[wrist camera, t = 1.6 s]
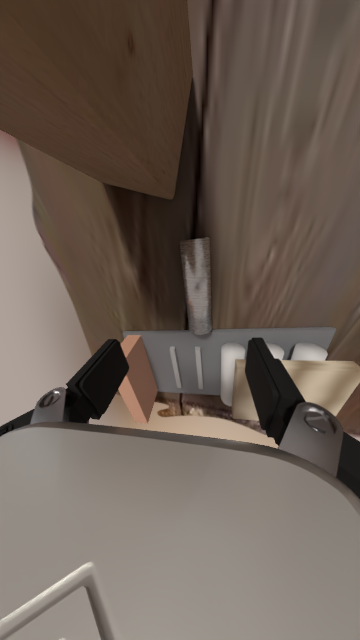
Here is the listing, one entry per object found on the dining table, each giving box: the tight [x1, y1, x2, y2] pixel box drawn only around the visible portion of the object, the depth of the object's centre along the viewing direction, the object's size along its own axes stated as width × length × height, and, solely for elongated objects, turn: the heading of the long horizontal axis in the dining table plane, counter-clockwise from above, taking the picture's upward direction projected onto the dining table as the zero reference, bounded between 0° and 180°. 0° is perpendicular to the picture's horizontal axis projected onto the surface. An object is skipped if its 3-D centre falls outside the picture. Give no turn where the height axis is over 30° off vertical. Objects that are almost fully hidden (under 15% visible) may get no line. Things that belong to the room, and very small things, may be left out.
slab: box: [231, 359, 360, 421], centre depth 25 cm, size 16×14×2 cm
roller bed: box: [118, 327, 336, 423], centre depth 28 cm, size 38×19×9 cm, turn 97°
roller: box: [179, 237, 212, 335], centre depth 23 cm, size 4×14×4 cm, turn 7°
